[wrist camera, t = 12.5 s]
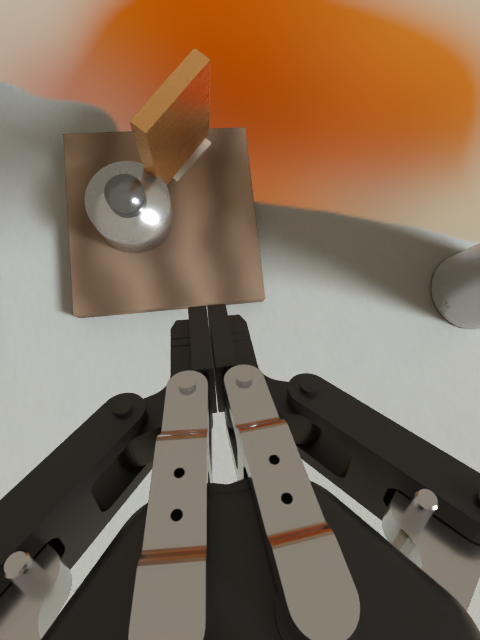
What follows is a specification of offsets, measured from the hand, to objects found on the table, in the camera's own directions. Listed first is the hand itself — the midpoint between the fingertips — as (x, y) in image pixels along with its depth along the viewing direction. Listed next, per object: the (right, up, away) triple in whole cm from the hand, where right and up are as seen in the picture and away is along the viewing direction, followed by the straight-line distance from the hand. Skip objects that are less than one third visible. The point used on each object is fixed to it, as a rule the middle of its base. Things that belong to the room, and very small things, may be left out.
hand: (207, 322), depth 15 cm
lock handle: (-8, +14, +25) cm, 30 cm away
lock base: (-7, +11, +27) cm, 30 cm away
